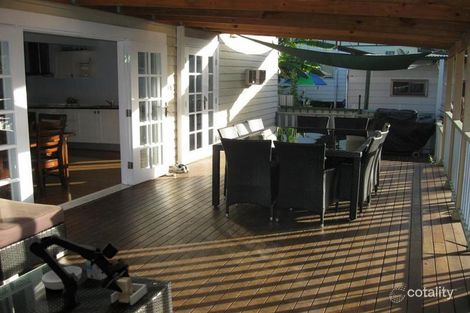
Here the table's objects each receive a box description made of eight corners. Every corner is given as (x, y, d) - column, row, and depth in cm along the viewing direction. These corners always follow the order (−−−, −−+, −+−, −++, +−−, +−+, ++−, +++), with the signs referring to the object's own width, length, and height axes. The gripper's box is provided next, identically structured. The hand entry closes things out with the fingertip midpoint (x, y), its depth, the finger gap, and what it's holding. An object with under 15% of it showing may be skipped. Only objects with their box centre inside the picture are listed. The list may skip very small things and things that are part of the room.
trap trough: (132, 305, 227) (131, 297, 226) (111, 302, 232) (110, 295, 231) (147, 291, 240) (146, 284, 239) (127, 289, 244) (126, 282, 244)
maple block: (127, 303, 230) (125, 282, 228) (119, 302, 232) (116, 281, 230) (133, 298, 234) (130, 277, 232) (125, 297, 236) (122, 276, 234)
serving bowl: (89, 276, 266) (87, 265, 265) (73, 293, 246) (71, 281, 245) (54, 277, 269) (52, 266, 267) (35, 295, 248) (33, 283, 247)
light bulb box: (87, 278, 264) (84, 260, 262) (96, 273, 270) (93, 255, 268) (101, 280, 259) (99, 262, 257) (110, 275, 265) (107, 257, 263)
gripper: (102, 263, 222) (125, 286, 220) (123, 248, 239) (145, 269, 237) (90, 277, 226) (113, 300, 224) (112, 262, 243) (133, 283, 241)
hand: (127, 287), depth 231 cm, fingers open, 9 cm apart
